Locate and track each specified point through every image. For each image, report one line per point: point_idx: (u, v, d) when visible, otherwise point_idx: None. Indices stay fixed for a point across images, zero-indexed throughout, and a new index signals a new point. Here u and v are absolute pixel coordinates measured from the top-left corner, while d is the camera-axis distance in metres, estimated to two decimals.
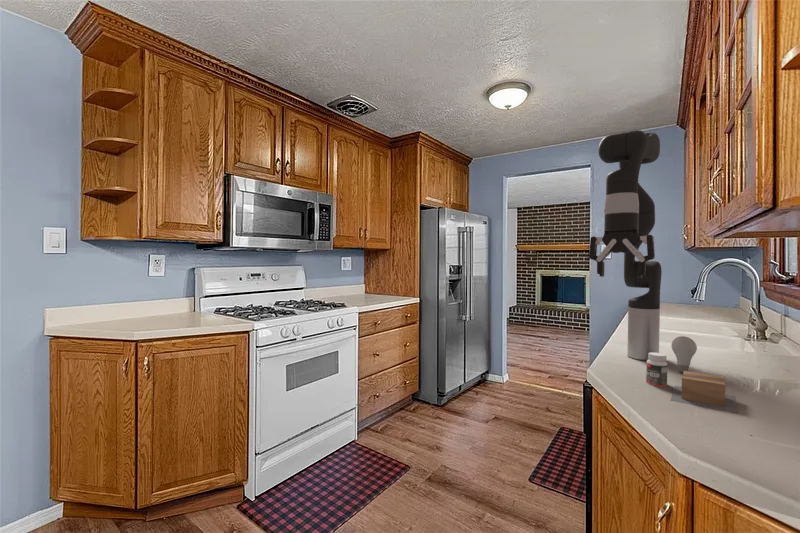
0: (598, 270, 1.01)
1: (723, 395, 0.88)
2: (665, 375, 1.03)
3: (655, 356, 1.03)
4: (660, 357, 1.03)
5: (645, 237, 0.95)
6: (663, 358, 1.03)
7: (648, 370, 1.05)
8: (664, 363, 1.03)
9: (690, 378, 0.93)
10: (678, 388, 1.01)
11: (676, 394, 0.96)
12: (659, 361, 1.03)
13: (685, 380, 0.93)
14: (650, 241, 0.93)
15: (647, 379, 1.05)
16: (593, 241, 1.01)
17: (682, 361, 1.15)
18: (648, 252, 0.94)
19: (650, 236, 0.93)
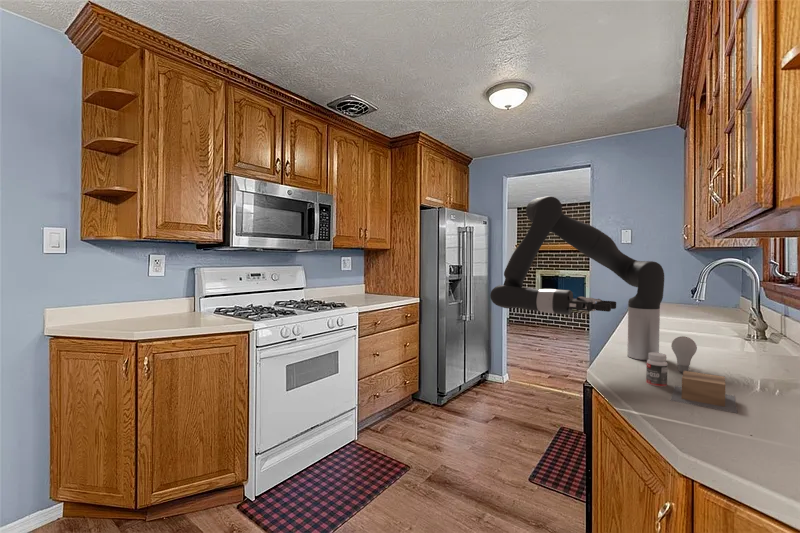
0: None
1: (723, 395, 0.88)
2: (665, 375, 1.03)
3: (655, 356, 1.03)
4: (660, 357, 1.03)
5: None
6: (663, 358, 1.03)
7: (648, 370, 1.05)
8: (664, 363, 1.03)
9: (690, 378, 0.93)
10: (678, 388, 1.01)
11: (676, 394, 0.96)
12: (659, 361, 1.03)
13: (685, 380, 0.93)
14: None
15: (647, 379, 1.05)
16: None
17: (682, 361, 1.15)
18: None
19: (570, 309, 1.12)
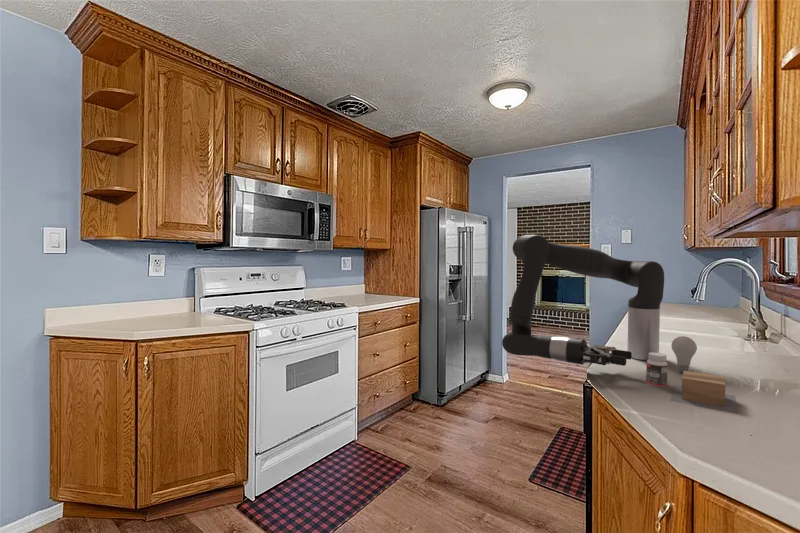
0: None
1: (723, 395, 0.88)
2: (665, 375, 1.03)
3: (655, 356, 1.03)
4: (660, 357, 1.03)
5: None
6: (663, 358, 1.03)
7: (648, 370, 1.05)
8: (664, 363, 1.03)
9: (690, 378, 0.93)
10: (678, 388, 1.01)
11: (676, 394, 0.96)
12: (659, 361, 1.03)
13: (685, 380, 0.93)
14: None
15: (647, 379, 1.05)
16: None
17: (682, 361, 1.15)
18: None
19: (584, 361, 1.10)
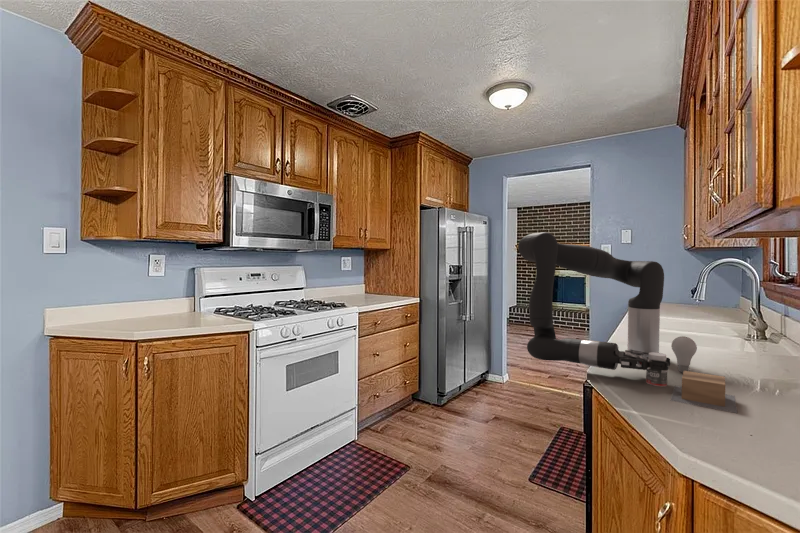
0: None
1: (723, 395, 0.88)
2: (665, 375, 1.03)
3: (655, 356, 1.03)
4: (660, 357, 1.03)
5: None
6: (663, 357, 1.03)
7: (648, 370, 1.05)
8: None
9: (690, 378, 0.93)
10: (678, 388, 1.01)
11: (676, 394, 0.96)
12: None
13: (685, 380, 0.93)
14: None
15: (647, 379, 1.05)
16: None
17: (682, 361, 1.15)
18: None
19: (622, 367, 1.04)
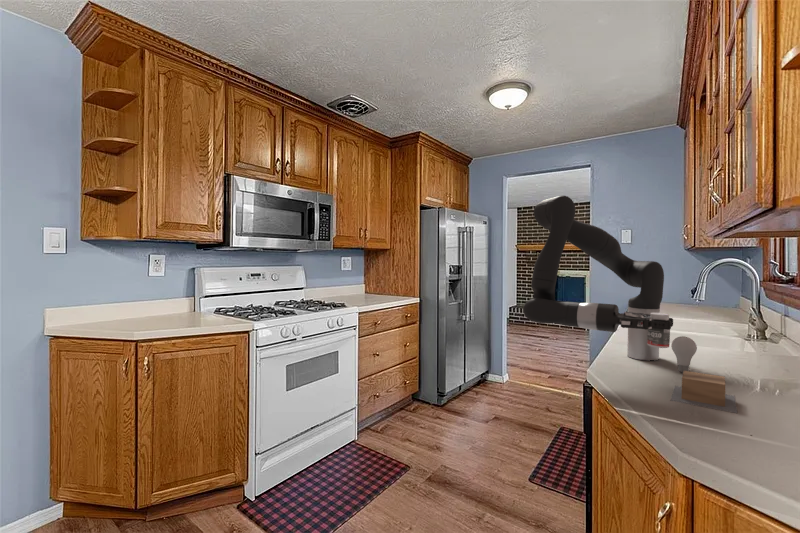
0: None
1: (723, 395, 0.88)
2: (667, 335, 0.97)
3: (657, 315, 0.98)
4: (662, 316, 0.97)
5: None
6: (665, 317, 0.97)
7: (649, 330, 0.99)
8: None
9: (690, 378, 0.93)
10: (678, 388, 1.01)
11: (676, 394, 0.96)
12: None
13: (685, 380, 0.93)
14: (628, 327, 0.98)
15: (649, 340, 0.99)
16: None
17: (682, 361, 1.15)
18: None
19: (623, 327, 0.99)
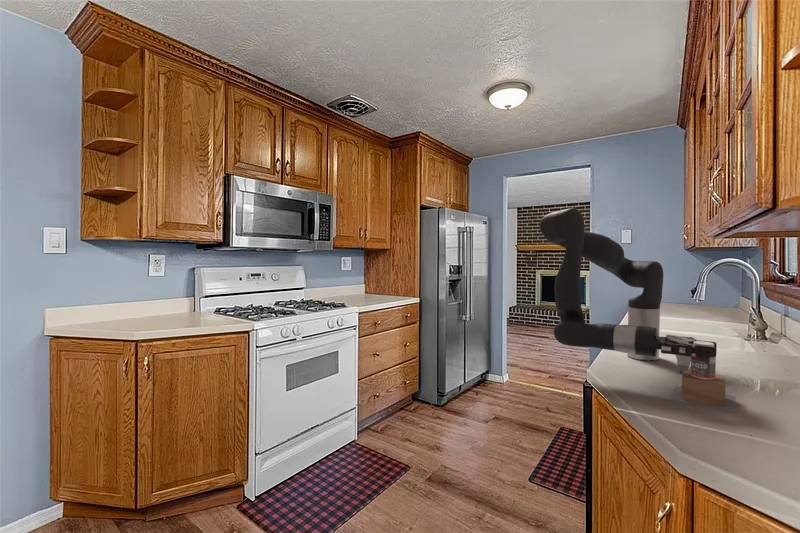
0: None
1: (723, 395, 0.88)
2: (713, 366, 0.92)
3: (702, 345, 0.92)
4: None
5: None
6: (711, 346, 0.92)
7: (693, 360, 0.94)
8: None
9: (690, 378, 0.93)
10: (678, 388, 1.01)
11: (676, 394, 0.96)
12: None
13: (685, 380, 0.93)
14: None
15: (693, 371, 0.94)
16: None
17: (682, 361, 1.15)
18: None
19: (663, 353, 0.93)
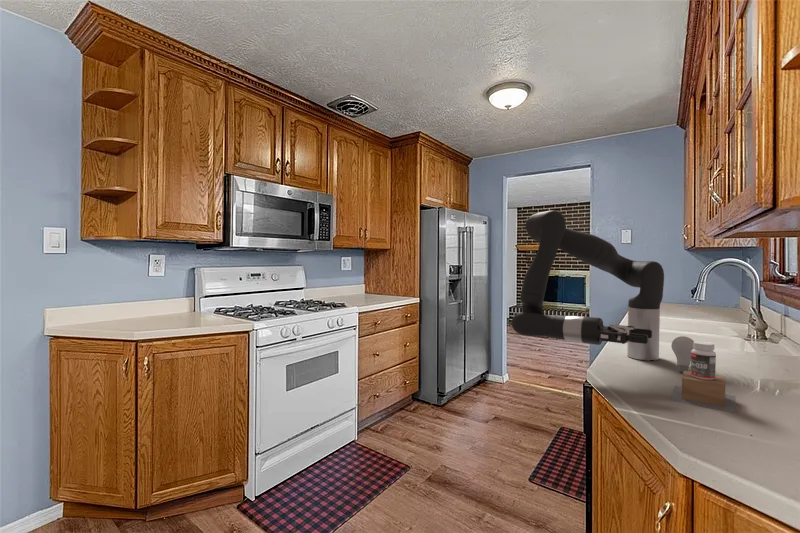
0: None
1: (723, 395, 0.88)
2: (713, 366, 0.92)
3: (702, 345, 0.92)
4: (708, 346, 0.92)
5: None
6: (711, 346, 0.92)
7: (693, 361, 0.94)
8: (712, 353, 0.92)
9: (690, 378, 0.93)
10: (678, 388, 1.01)
11: (676, 394, 0.96)
12: (707, 350, 0.92)
13: (685, 380, 0.93)
14: None
15: (693, 371, 0.94)
16: None
17: (682, 361, 1.15)
18: None
19: (602, 340, 1.03)
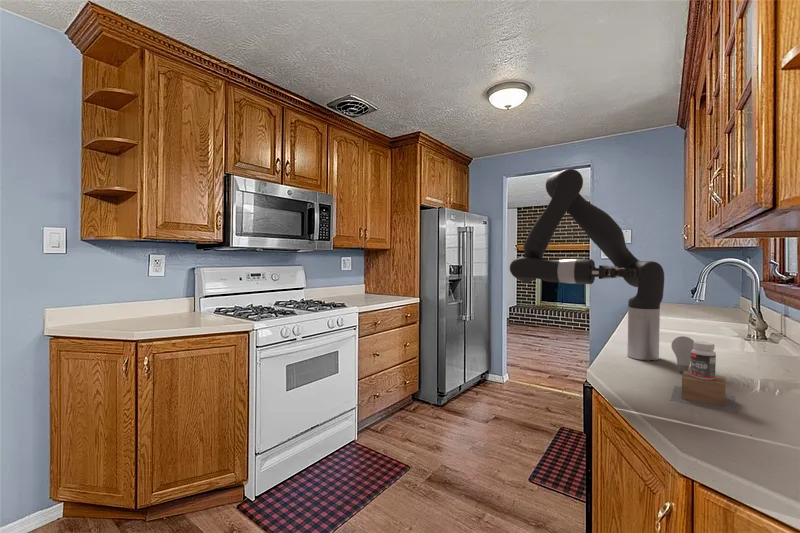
0: None
1: (723, 395, 0.88)
2: (713, 366, 0.92)
3: (702, 345, 0.92)
4: (708, 346, 0.92)
5: None
6: (711, 346, 0.92)
7: (693, 361, 0.94)
8: (712, 353, 0.92)
9: (690, 378, 0.93)
10: (678, 388, 1.01)
11: (676, 394, 0.96)
12: (707, 350, 0.92)
13: (685, 380, 0.93)
14: (597, 276, 1.10)
15: (693, 371, 0.94)
16: None
17: (682, 361, 1.15)
18: (608, 277, 1.08)
19: (593, 276, 1.10)
